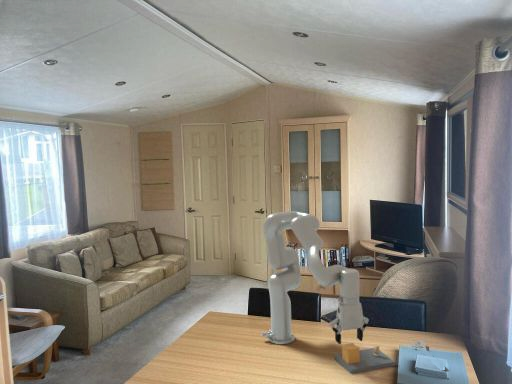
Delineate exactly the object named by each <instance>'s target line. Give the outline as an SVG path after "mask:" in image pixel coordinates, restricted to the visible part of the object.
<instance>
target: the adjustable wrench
mask: <svg viewBox="0 0 512 384" xmlns="http://www.w3.org/2000/svg"><path fill="white" fill-rule="evenodd" d="M412 347H415V348H419V349H427V344H426V342H423V341H420V340H417V341H416V342H411V348H412Z"/></svg>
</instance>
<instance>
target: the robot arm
mask: <svg viewBox="0 0 512 384" xmlns="http://www.w3.org/2000/svg"><path fill="white" fill-rule="evenodd" d="M263 221H264V222H263V225H262V229H263V230H262V231H263V235H264V239H265V245H266V254H267V261H268V266H269V268H270V269H272V270H274V271H278V270H282V271H278V272H275V273H273V274H272V275H270V276H269V278H268V280H267V287H268V292H269V299H270V300H269V301H270V302H269V303H270V328H269V330H268V331H267V332H266V331H265V332H261V333H260V335H261V337H262V338H264V337H265V338H266V339H268V341H269V342H270V343H272V344H276V345H286V344H287V345H289V344H291V343H294V341H295V340H296V337H295V334H293V333H292V304H291V298H290V296H289V294H288V292H289V291H292V290H295V289H297V288H299V287H300V285H301V284H302V273H301V265H300V257H299V254H298V252H297V250H296V249H295V248H293V247H292V246H285V239H284V237H283V235H282V233H281V231H287V230H291V231H292V232H293V234H294V235H295V237H296V239H297V240H298V241H299V243H300V245H301V246H302V248H303V249H304V250H305V252H306V262H307V269H309V270H308V271H309V272H310V273H311V275H312V277H313V278H314V280H315V281H316V282H317V283H318V284H319V285H320V286H321V287H324V288H329V287H331V286H335V285H336V284H339V297H338V298H337V299H336V300H337V302H338V305H337V309H336V318H335V319H332V321H330V322H329V323H328V324H329V327H330V328H331V330H332V331H333V332H334V340H335V342H336V343H337V344H339V345H342V334H341V332H342V331H350V330H356V339H358V340H359V341H360V342H362V341H363V338H364V331H365V328H367V326H368V324H369V320H370V319H369V318H368V317H365V316H364V313H363V307H362V303H361V302H360V272H359V270H358V269H355V268H349V267H346V266H343V265H342V264H333V265H330V266H327V267H326V266H325V264H324V263H323V261H322V260H321V257H320V251H321V248H323V246H324V240H323V239H322V238H321V236H320V235H319V233H318V232H317V231H318V230H319V229H320V221H319V219H318V217H316V216H315V215H314V214H311V213H307V212H301V211H296V210H289V211H281V212H280V211H279V212H275V213H271V214H269V215H268V216H267V217H266V218H265V219H264V220H263ZM283 269H284V270H283ZM335 325H336V326H335Z"/></svg>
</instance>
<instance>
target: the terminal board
mask: <svg viewBox="0 0 512 384" xmlns="http://www.w3.org/2000/svg"><path fill="white" fill-rule="evenodd" d="M333 359H335V360H336V362H338V363H339V364H340V365H341V366H342V367H343V368H344V369H345V370H347V371H348V372H349V373H350V374H358V373H362V372H366V371H367V372H369V371H372V370H378V369H382V368H383V369H385V368H389V367H393V366H394V367H395V366H396V365H397V364H396V361H395V360H394V359H392V358H391V357H389V355H387V354H385V353H384V352H383V351H382V350H380V346H379V345H377V344H376V345H374V347H372V348H367V349H361V350H360V349H359V360H360V362H357V363H352V364H348V363H347V362H345V361H344V360H343V359H342V352H341V353H337V354H333Z"/></svg>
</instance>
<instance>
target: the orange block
mask: <svg viewBox="0 0 512 384" xmlns="http://www.w3.org/2000/svg"><path fill="white" fill-rule="evenodd" d="M359 350H360V347H359V346H357V345H356V344H355V343H353V342H351V343H345V344H341V353H342V359H343V360H344V361H345V362H347V363H348V364H352V363H357V362H360V360H359Z"/></svg>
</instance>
